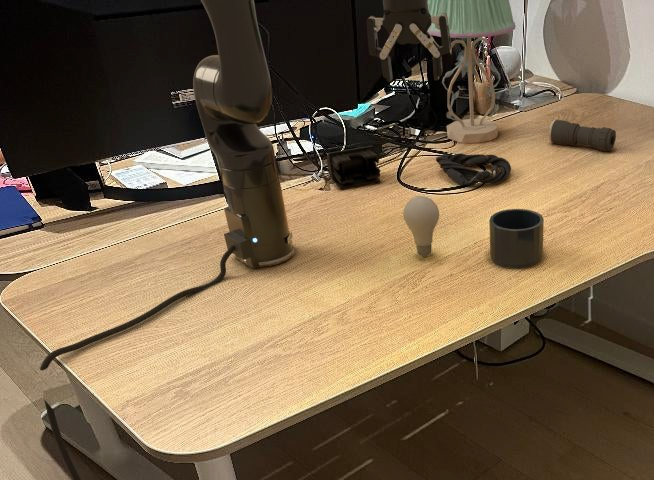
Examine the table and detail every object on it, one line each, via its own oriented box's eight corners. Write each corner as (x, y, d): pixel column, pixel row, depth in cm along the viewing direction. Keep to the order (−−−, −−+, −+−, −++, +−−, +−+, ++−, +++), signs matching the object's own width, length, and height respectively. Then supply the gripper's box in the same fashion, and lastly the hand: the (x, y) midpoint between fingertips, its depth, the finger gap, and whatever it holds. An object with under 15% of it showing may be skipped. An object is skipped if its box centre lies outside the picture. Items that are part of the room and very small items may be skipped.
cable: (425, 170, 167) (424, 151, 165) (477, 157, 174) (476, 138, 171) (468, 193, 156) (468, 173, 154) (522, 178, 163) (522, 158, 160)
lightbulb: (442, 248, 135) (438, 189, 129) (441, 263, 130) (437, 203, 124) (408, 249, 135) (403, 190, 128) (406, 264, 130) (400, 204, 123)
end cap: (373, 172, 167) (369, 141, 163) (383, 182, 162) (379, 151, 158) (329, 179, 164) (324, 149, 160) (338, 190, 159) (333, 159, 155)
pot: (517, 273, 126) (517, 235, 122) (479, 257, 132) (478, 220, 128) (553, 255, 132) (554, 218, 128) (515, 240, 137) (515, 204, 133)
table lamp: (497, 118, 199) (494, -56, 175) (529, 142, 182) (530, -47, 159) (419, 128, 193) (405, -51, 169) (444, 154, 176) (433, -40, 153)
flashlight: (616, 148, 177) (618, 125, 174) (608, 155, 174) (610, 131, 170) (557, 139, 183) (558, 116, 180) (548, 145, 180) (549, 122, 176)
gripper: (355, -17, 122) (370, 86, 131) (442, -21, 120) (450, 84, 130) (365, -25, 128) (378, 75, 137) (447, -28, 126) (455, 73, 136)
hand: (413, 79), depth 134 cm, fingers open, 8 cm apart
